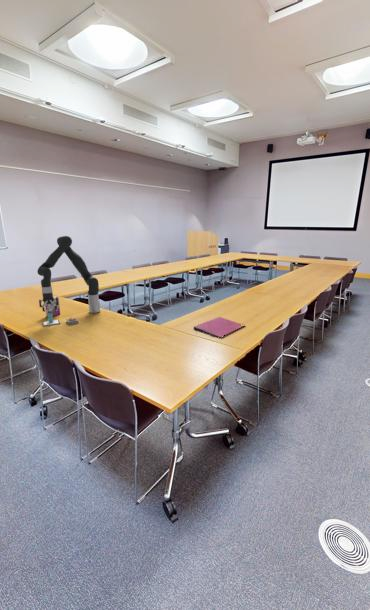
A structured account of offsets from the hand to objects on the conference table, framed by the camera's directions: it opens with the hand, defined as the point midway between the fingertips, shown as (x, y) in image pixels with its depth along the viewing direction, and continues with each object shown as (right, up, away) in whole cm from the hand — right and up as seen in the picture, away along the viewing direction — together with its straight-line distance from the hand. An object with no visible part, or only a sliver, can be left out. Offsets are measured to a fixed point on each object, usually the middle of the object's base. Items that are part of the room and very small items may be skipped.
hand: (50, 310), depth 237 cm
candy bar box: (-7, -5, +23) cm, 24 cm away
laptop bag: (+139, -15, -1) cm, 140 cm away
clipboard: (-1, -11, +3) cm, 11 cm away
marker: (0, -10, +3) cm, 10 cm away
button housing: (+16, -10, +6) cm, 20 cm away
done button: (+16, -9, +5) cm, 19 cm away
